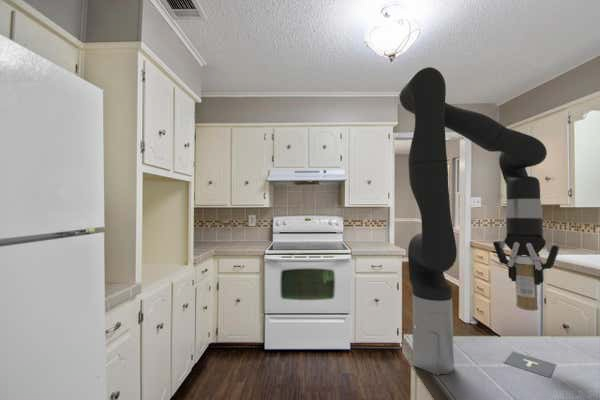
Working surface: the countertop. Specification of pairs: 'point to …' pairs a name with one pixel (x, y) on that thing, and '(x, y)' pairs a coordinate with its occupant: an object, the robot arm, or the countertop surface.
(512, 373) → the countertop surface
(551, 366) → the letter card
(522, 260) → the sprinkles bottle
